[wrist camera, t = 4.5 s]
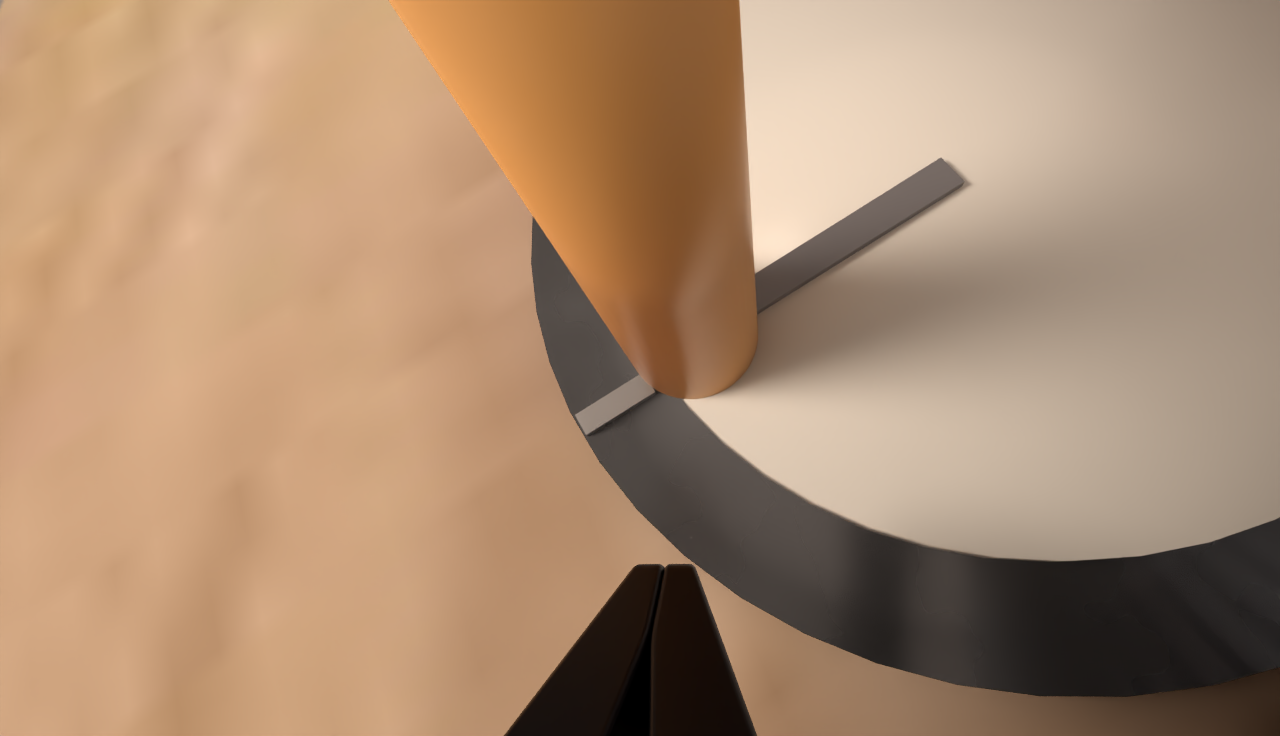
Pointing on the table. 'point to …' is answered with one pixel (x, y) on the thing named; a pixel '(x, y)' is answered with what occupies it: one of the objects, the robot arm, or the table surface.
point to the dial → (921, 244)
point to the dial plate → (909, 554)
